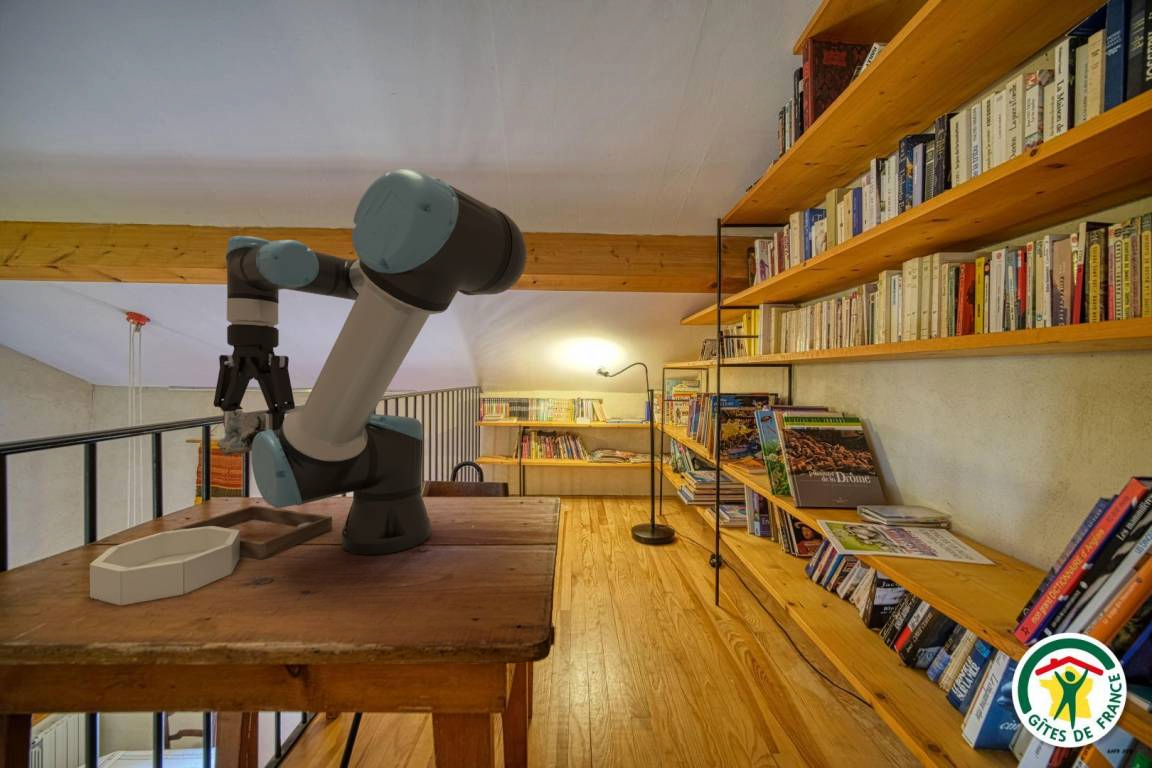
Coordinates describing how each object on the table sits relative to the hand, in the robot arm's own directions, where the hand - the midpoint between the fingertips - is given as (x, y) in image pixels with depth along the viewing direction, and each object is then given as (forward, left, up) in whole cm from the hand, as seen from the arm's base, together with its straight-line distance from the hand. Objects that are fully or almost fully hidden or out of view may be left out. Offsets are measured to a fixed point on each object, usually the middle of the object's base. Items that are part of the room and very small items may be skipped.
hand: (253, 447), depth 78 cm
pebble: (-8, -4, -17) cm, 19 cm away
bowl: (-4, +15, -17) cm, 23 cm away
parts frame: (-1, 0, -17) cm, 17 cm away
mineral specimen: (0, 0, 0) cm, 1 cm away
